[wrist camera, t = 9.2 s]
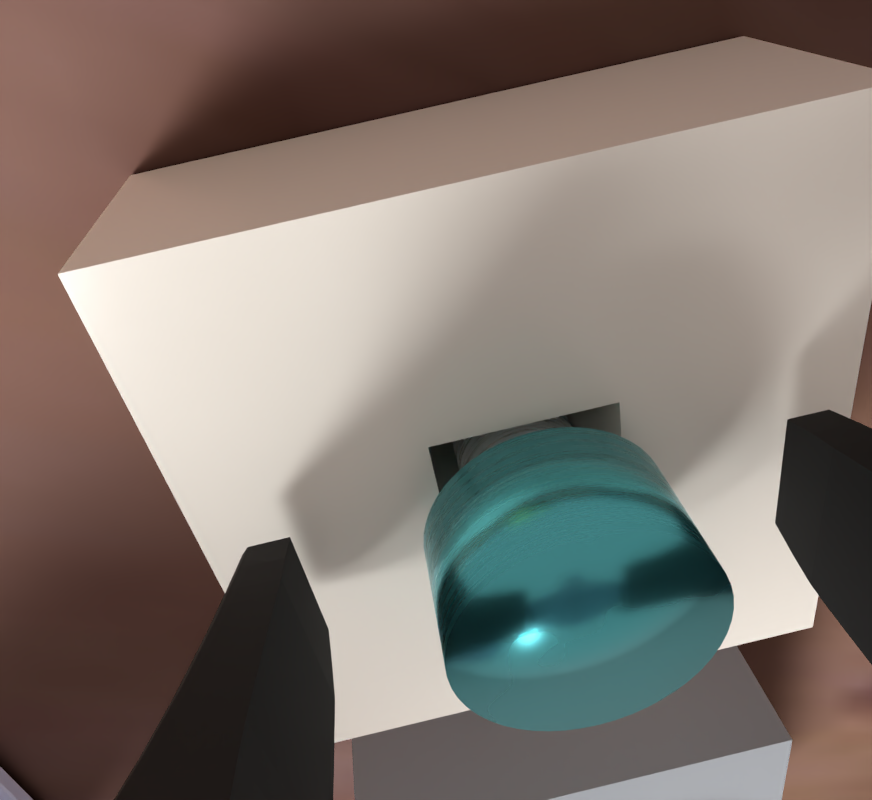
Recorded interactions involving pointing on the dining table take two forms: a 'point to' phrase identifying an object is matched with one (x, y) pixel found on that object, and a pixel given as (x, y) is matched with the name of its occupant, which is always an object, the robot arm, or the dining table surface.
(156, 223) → the cream block
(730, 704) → the grey block
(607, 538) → the teal round knob
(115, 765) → the dining table surface
